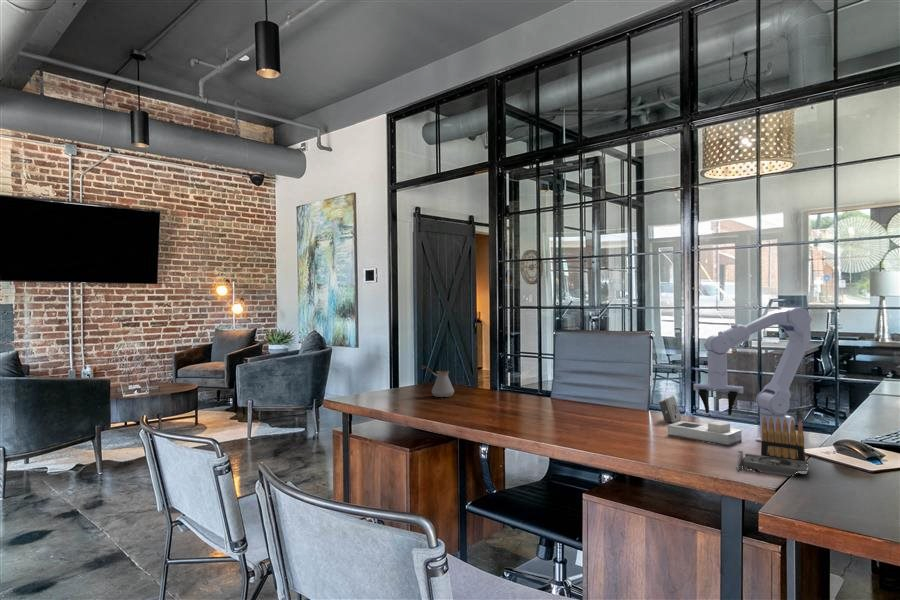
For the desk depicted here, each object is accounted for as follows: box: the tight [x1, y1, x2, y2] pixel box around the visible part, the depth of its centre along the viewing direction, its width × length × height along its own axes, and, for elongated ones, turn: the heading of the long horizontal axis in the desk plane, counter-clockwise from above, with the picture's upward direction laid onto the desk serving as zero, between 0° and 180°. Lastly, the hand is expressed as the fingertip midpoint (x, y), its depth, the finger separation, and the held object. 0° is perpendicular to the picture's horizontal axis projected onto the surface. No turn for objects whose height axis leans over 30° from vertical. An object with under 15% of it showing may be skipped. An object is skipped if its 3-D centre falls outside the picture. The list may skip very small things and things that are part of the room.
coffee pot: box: [421, 365, 455, 398], centre depth 276 cm, size 21×12×15 cm, turn 43°
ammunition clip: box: [760, 417, 806, 461], centre depth 154 cm, size 11×2×12 cm, turn 50°
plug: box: [707, 421, 731, 433], centre depth 177 cm, size 4×5×5 cm
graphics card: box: [735, 450, 809, 477], centre depth 145 cm, size 17×4×12 cm
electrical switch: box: [658, 395, 682, 424], centre depth 209 cm, size 9×5×9 cm, turn 141°
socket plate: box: [667, 420, 743, 447], centre depth 181 cm, size 20×10×4 cm, turn 40°
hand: (718, 413), depth 177 cm, fingers open, 6 cm apart
